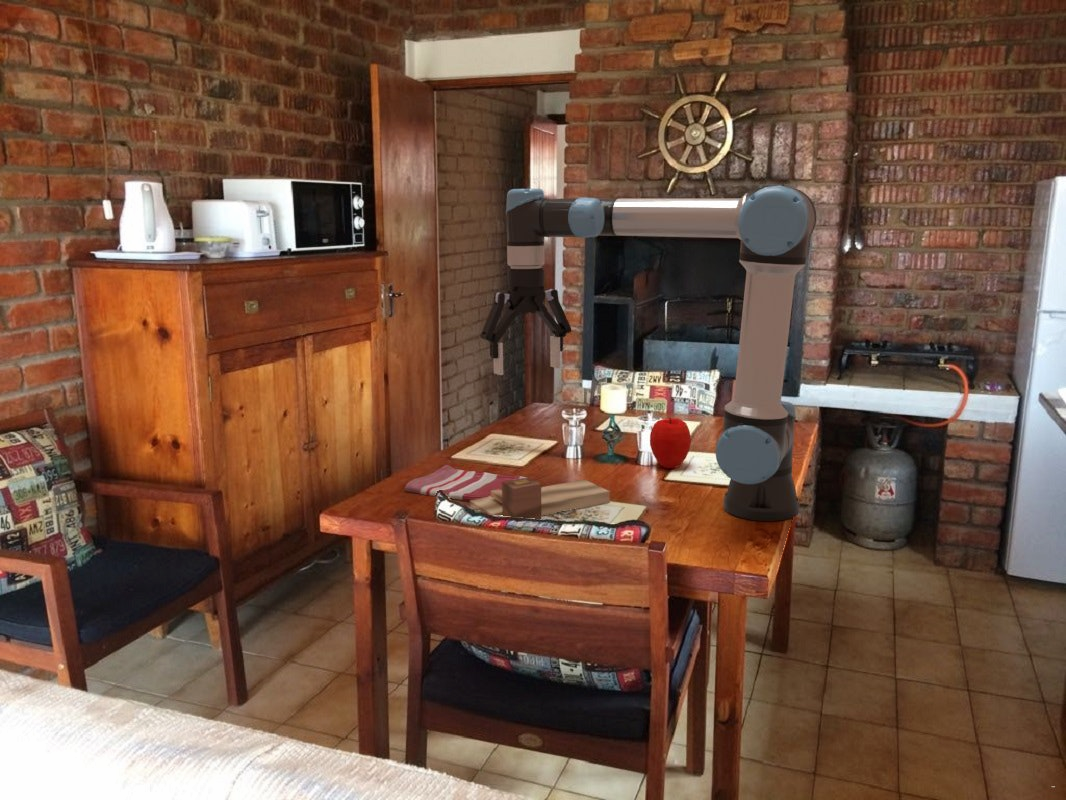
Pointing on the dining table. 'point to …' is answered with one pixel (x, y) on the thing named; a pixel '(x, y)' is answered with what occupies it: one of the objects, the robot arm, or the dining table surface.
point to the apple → (670, 442)
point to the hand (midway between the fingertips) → (527, 370)
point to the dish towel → (459, 483)
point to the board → (555, 498)
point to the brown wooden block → (520, 498)
